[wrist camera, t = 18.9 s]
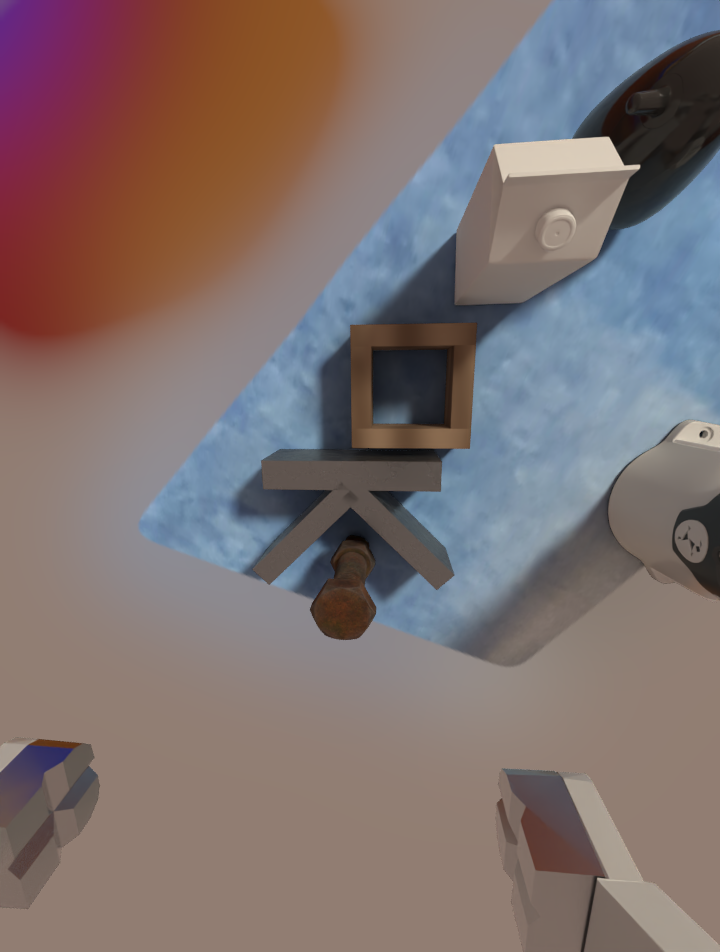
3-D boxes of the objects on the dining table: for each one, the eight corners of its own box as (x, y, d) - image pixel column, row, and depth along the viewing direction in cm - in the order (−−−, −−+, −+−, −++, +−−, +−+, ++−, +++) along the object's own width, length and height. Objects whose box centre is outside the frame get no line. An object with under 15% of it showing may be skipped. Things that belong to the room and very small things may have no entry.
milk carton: (455, 230, 40) (512, 100, 22) (528, 227, 39) (649, 90, 21) (453, 306, 42) (504, 244, 23) (523, 303, 41) (631, 238, 23)
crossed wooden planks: (449, 450, 45) (460, 462, 38) (444, 561, 48) (453, 590, 41) (265, 449, 47) (243, 460, 40) (272, 556, 50) (253, 584, 43)
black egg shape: (537, 143, 38) (632, -10, 23) (652, 107, 36) (831, -81, 22) (552, 257, 40) (648, 183, 25) (662, 226, 39) (831, 128, 24)
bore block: (467, 329, 42) (477, 322, 37) (461, 441, 45) (469, 448, 40) (354, 331, 43) (350, 325, 38) (355, 441, 46) (351, 447, 41)
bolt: (361, 573, 49) (349, 653, 35) (327, 552, 49) (300, 624, 35) (386, 537, 48) (384, 604, 34) (351, 515, 48) (334, 574, 33)
